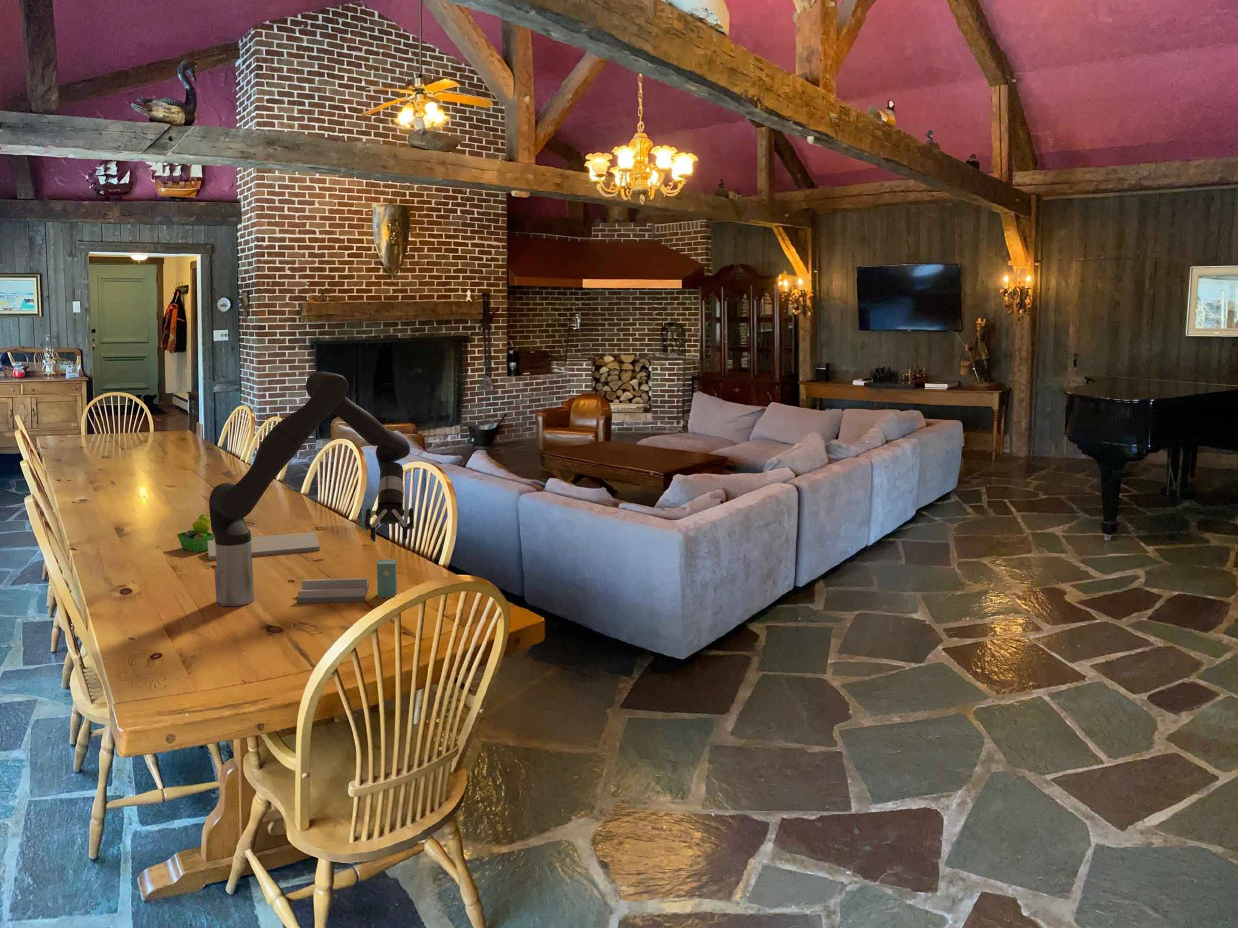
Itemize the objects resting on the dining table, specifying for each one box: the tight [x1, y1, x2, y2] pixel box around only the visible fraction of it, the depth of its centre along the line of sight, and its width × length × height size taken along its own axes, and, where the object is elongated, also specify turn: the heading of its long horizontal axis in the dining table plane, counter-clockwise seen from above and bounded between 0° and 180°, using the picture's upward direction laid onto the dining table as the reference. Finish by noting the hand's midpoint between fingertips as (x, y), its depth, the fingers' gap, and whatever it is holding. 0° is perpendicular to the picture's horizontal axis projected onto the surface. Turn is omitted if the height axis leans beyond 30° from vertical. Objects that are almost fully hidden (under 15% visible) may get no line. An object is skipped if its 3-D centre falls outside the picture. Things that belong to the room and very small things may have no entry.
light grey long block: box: [207, 531, 321, 561], centre depth 313 cm, size 34×5×10 cm
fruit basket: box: [176, 513, 215, 553], centre depth 314 cm, size 11×9×11 cm
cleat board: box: [297, 577, 370, 604], centre depth 269 cm, size 18×13×4 cm
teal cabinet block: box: [376, 558, 398, 599], centre depth 269 cm, size 5×6×10 cm
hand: (388, 540), depth 278 cm, fingers open, 8 cm apart
